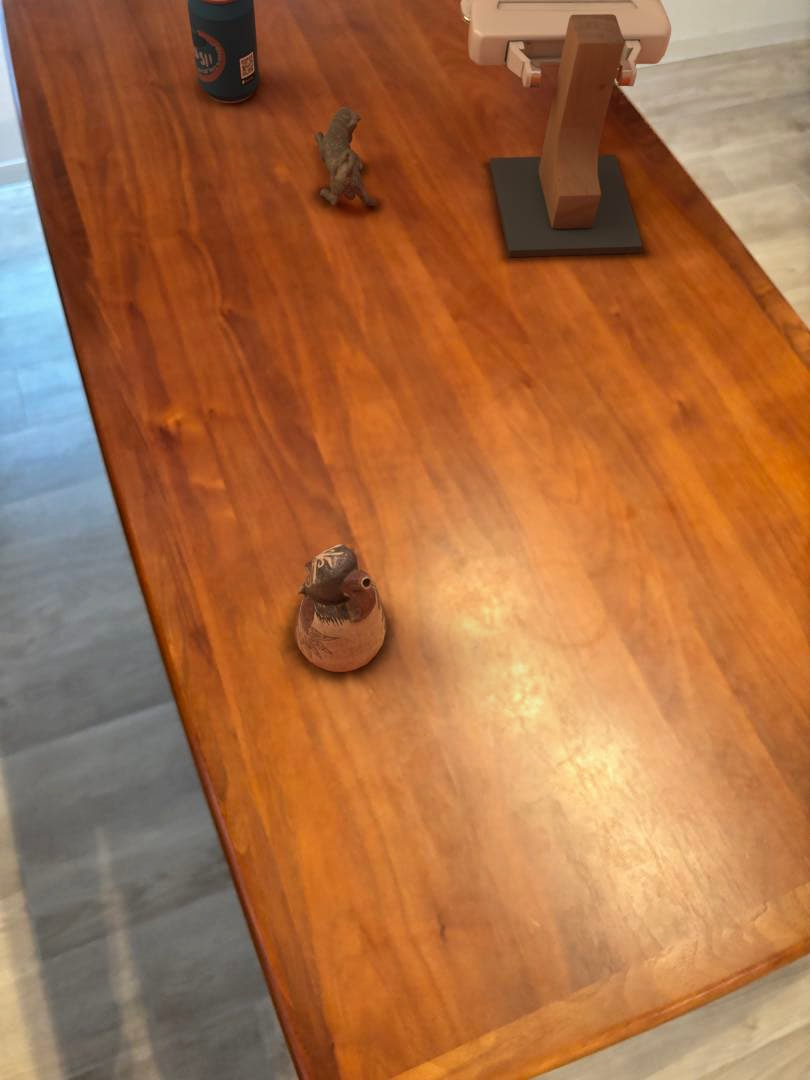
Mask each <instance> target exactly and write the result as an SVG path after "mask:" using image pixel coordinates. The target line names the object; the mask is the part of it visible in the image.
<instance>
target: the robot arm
mask: <svg viewBox="0 0 810 1080" xmlns="http://www.w3.org/2000/svg"><path fill="white" fill-rule="evenodd" d="M459 12H460V16H461V18H462V20H463V22H464V23H466V24H467V25H468V34H467V35H468V36H467V49H468V57H469V60H470V61H472V62H473V63H474V64H475V65H478V66H480V67H492V66H493V67H494V66H495V67H496V66H497V67H498V66H499V67H501V66H507V69H508V70H510V72H512V73H513V74H514V75H516V76H517V77H519V78H520V79H521V81H522V85H523V88H527V89H528V88H529V89H530V88H532V89H533V88H540V86H541V81H542V77H543V72H542V71H543V70H542V68H541V66H560V62H561V57H562V52H563V47H564V42H565V37H566V32H567V27H568V22H569V18H570V16H571V15H580V14H613V15H615V16H616V18H617V21H618V24H619V27H620V30H621V33H622V36H623V39H624V47H623V51H622V55H621V59H620V62H619V66H618V70H617V74H616V78H615V82H617V86H618V87H634V85H635V82H636V79H637V76H638V75H637V73H638V69H637V67H636V66H637V65H656V64H658V63H660V61H662V59H663V58H664V57H665V54H666V53H667V50H668V47H669V44H670V40H671V35H672V25H671V22H670V19H669V16H668V13H667V11H666V9H665V7H664V4H663V2H662V1H661V0H461V1H460V3H459Z"/></svg>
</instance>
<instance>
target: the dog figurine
mask: <svg viewBox="0 0 810 1080" xmlns="http://www.w3.org/2000/svg"><path fill="white" fill-rule="evenodd" d="M361 120H362V117H361V116H360V114H358V112H357V111H356V110H354V109H351V108H349V107H346V106H341V107H340V109H338V110H337V111H336V112H335V113H334V115H332V118H331V120H330V122H329V124H328V128H327V129H326V132H325V134H324V133H323V132H322V131H317V132H315V133H314V140H315V142H316V143H317V144H318V152H319V156H320V158H321V160H322V162H323V163H324V165H325V168H326V170H327V172H328V174H329V175H330V177H329V180H328V183H329V188H330V189H329V188H328V187H323V189H321V190H320V192H319V195H320V197H323V198H324V199H325V200H326V201H327V202H329V203H330V205H332V206H334V207H335V206H336V205H338V203H339V201H340V198H341V197H342V196H343V197H344V198H345V199H347V200H348V201H352V200H354V199H355V197H356V196H357V197H358V198H359V199H360V200H361V202H362V203H363V204H364V205H366V206H368V207H376V206H377V205H378V203H377V199H375V198H373V197H371V196H370V195H369V194H368V192H367V191H366V187H365V184H364V181H363V177H362V175H361V172H360V171H361V170H362V169H363V167H364V165H363V163H362V162H361V159H360V156H359V154H358V153H357V152H355V151H354V149H353V148H352V147H351V143H352V141H353V133H354V131H355V130H356V129H357V127H358V123H359V122H360V121H361Z"/></svg>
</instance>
